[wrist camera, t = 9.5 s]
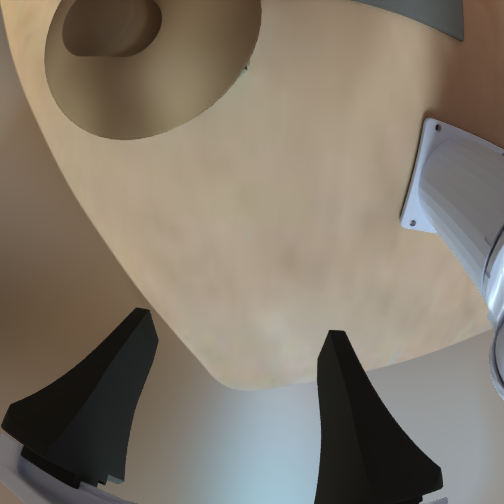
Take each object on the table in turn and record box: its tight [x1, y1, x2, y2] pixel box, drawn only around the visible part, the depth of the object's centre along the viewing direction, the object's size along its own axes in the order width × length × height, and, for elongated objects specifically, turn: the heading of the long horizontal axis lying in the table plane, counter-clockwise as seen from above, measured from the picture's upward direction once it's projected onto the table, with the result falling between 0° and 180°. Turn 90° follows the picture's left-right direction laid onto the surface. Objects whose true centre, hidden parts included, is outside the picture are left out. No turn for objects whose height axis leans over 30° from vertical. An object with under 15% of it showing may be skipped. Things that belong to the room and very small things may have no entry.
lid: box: [45, 0, 262, 140], centre depth 7 cm, size 12×12×4 cm
